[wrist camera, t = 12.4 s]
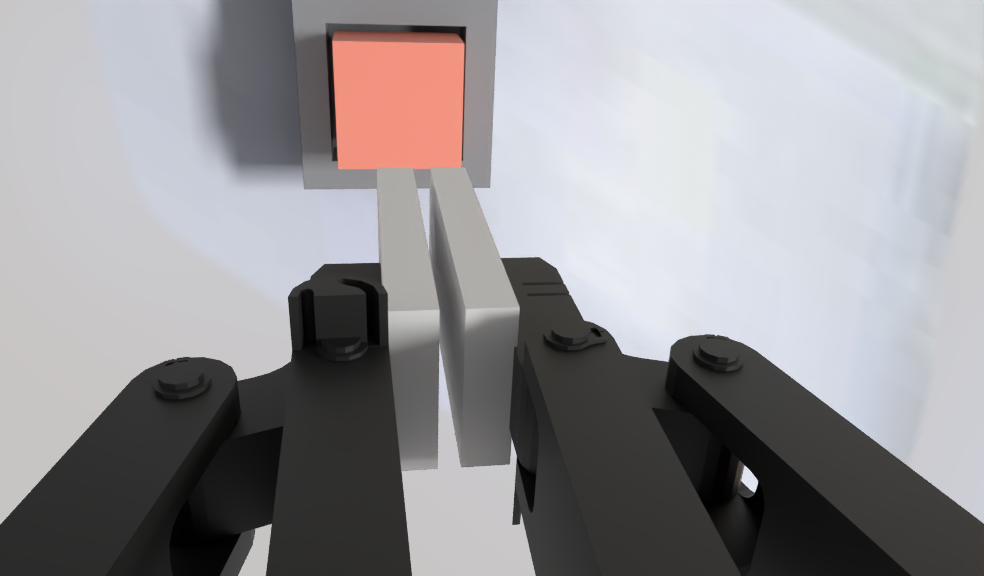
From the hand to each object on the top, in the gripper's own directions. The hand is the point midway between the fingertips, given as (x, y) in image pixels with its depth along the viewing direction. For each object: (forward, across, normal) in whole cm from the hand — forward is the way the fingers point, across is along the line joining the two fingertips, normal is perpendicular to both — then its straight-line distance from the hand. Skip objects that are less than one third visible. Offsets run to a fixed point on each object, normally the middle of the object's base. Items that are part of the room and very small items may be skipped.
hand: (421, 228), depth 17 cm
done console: (+16, 0, 0) cm, 16 cm away
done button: (+14, 0, 0) cm, 14 cm away
